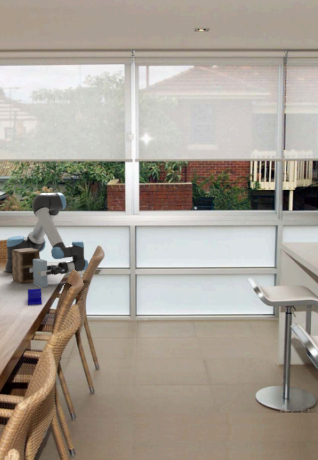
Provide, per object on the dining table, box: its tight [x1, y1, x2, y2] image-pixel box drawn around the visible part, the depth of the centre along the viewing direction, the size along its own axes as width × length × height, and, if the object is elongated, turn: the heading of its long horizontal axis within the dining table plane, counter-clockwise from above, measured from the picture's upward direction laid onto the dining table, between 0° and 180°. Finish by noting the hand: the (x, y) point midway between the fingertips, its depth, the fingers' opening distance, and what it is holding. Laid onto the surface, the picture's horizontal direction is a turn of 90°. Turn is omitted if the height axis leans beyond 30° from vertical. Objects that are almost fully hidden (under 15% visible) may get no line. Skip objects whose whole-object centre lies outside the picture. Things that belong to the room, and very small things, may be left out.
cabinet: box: [11, 248, 41, 285], centre depth 377 cm, size 12×14×20 cm
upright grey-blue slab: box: [33, 258, 49, 289], centre depth 364 cm, size 10×5×16 cm, turn 40°
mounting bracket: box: [27, 288, 43, 306], centre depth 328 cm, size 18×7×6 cm, turn 12°
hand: (35, 272), depth 362 cm, fingers open, 13 cm apart
